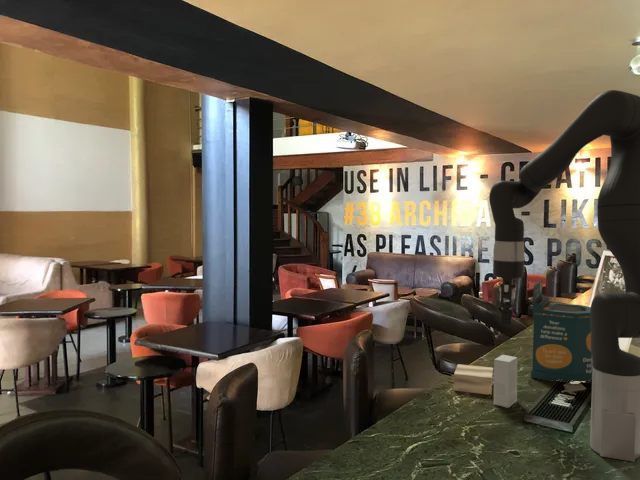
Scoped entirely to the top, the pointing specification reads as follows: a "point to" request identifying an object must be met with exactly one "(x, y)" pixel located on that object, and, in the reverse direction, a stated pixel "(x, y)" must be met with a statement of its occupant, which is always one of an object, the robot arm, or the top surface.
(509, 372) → the skincare box
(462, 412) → the top surface
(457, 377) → the birch block
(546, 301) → the donation box
